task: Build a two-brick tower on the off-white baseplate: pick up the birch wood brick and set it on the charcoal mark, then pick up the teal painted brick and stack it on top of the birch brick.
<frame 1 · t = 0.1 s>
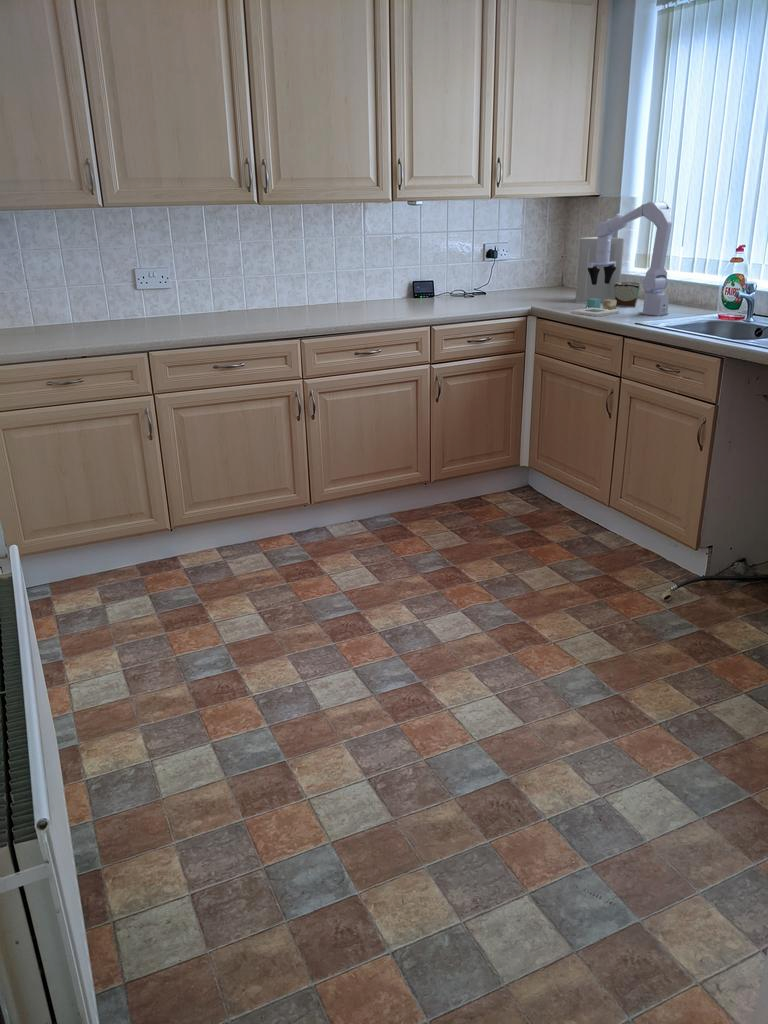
hand: (600, 284, 365), 10 cm above the table, tool pointing down, fingers open, 7 cm apart
teal brick: (593, 308, 366), on the table
tall grey pillar: (595, 301, 388), on the table
food container: (627, 306, 373), on the table
baseplate: (594, 313, 352), on the table
birch brick: (609, 309, 362), on the table
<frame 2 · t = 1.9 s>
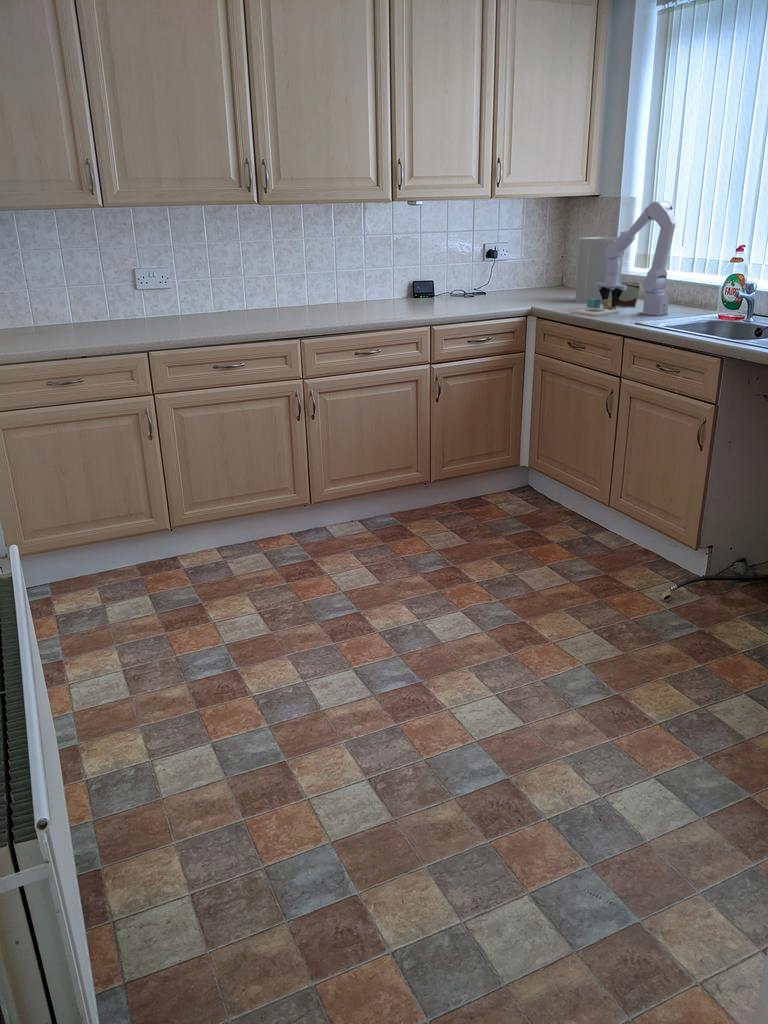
hand: (609, 306, 362), 1 cm above the table, tool pointing down, fingers closed on birch brick, 4 cm apart
birch brick: (609, 309, 362), on the table, touching gripper
everything else where it was.
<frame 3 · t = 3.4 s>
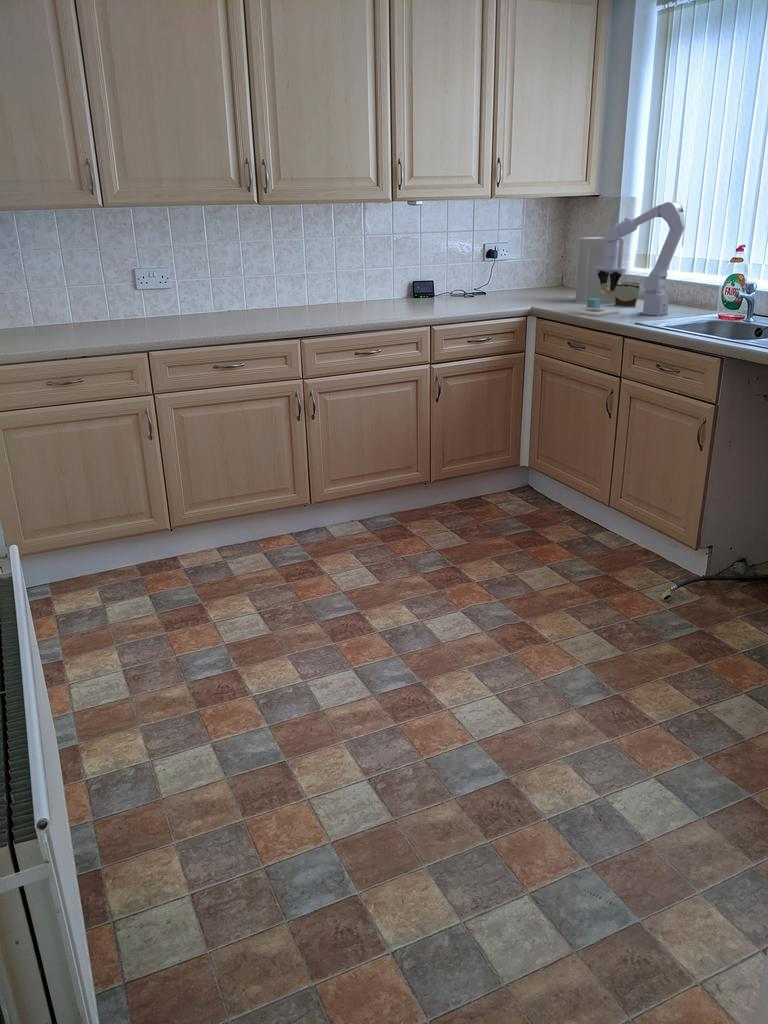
hand: (608, 290, 357), 8 cm above the table, tool pointing down, fingers closed on birch brick, 4 cm apart
birch brick: (607, 293, 358), point 7 cm above the table, touching gripper
everything else where it was.
when the fingers open (4 cm above the table, at t = 5.3 s): birch brick drops 1 cm, resting on baseplate.
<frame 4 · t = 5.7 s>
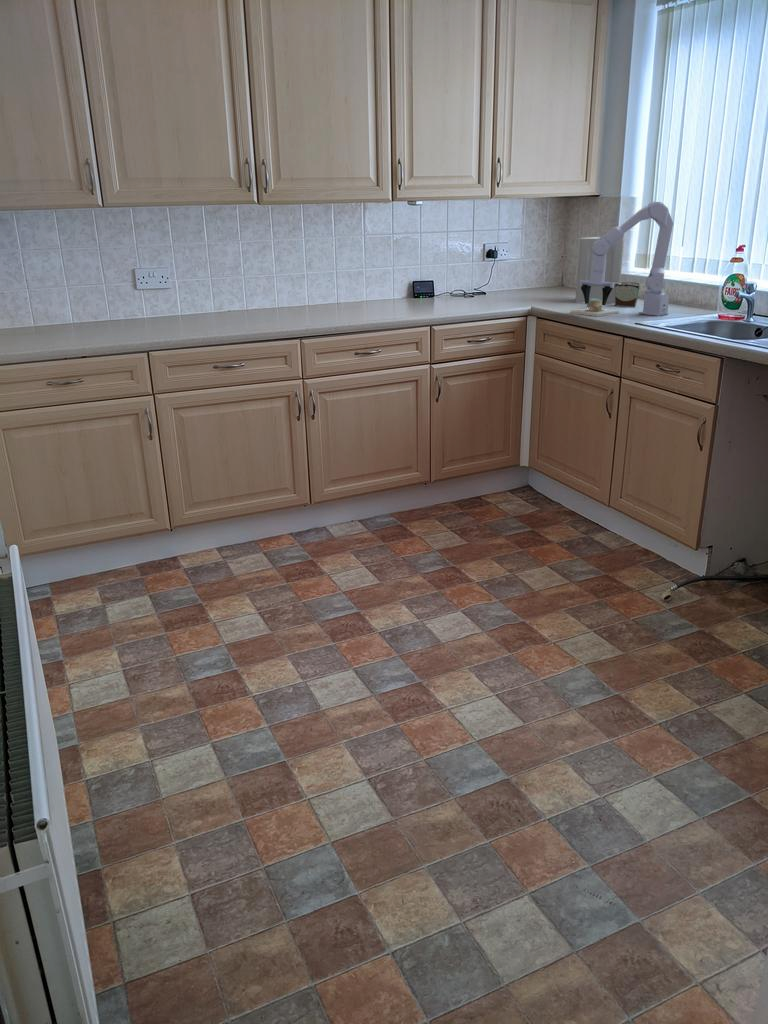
hand: (595, 304, 351), 4 cm above the table, tool pointing down, fingers open, 7 cm apart
birch brick: (595, 310, 352), point 1 cm above the table, touching baseplate
everything else where it was.
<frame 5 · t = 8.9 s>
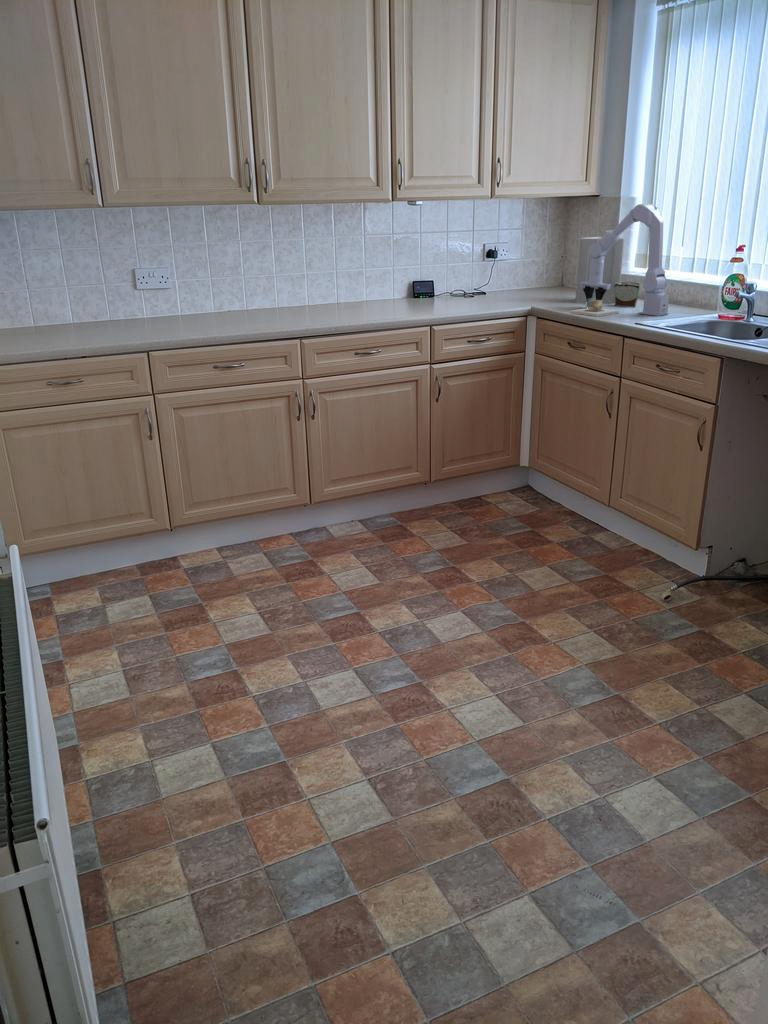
hand: (593, 304, 366), 1 cm above the table, tool pointing down, fingers closed on teal brick, 4 cm apart
teal brick: (593, 308, 366), on the table, touching gripper
everything else where it was.
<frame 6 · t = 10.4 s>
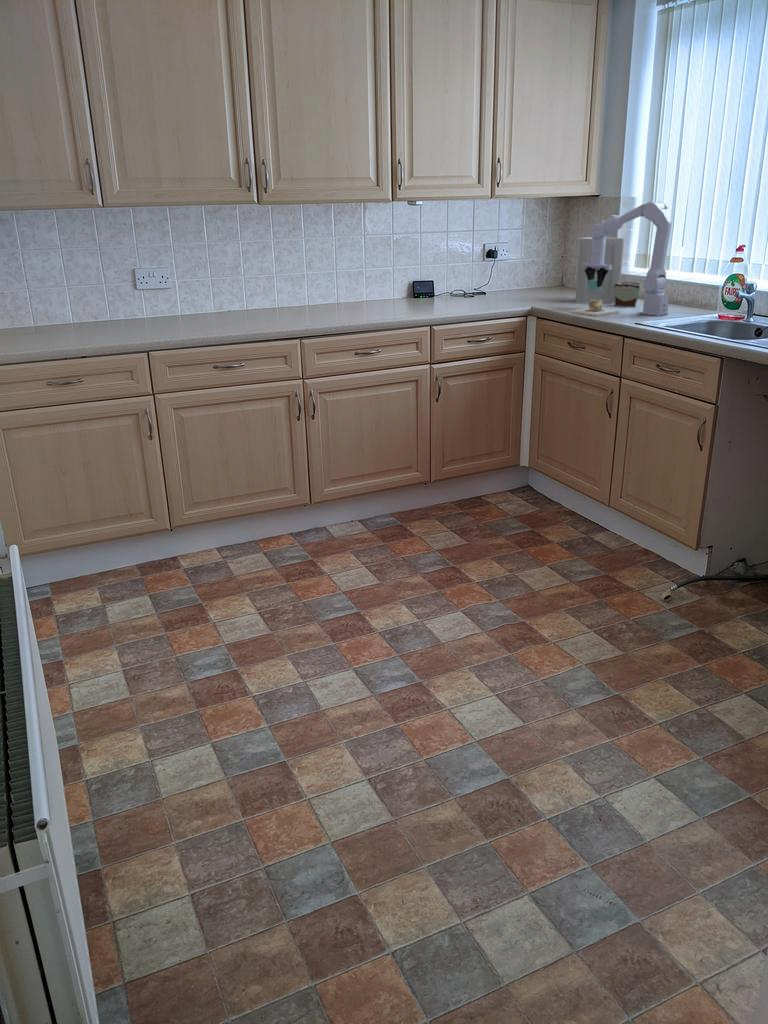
hand: (595, 286, 363), 9 cm above the table, tool pointing down, fingers closed on teal brick, 4 cm apart
teal brick: (594, 289, 363), point 8 cm above the table, touching gripper
everything else where it was.
when the fingers open (8 cm above the table, at t = 12.1 s): teal brick drops 1 cm, resting on birch brick.
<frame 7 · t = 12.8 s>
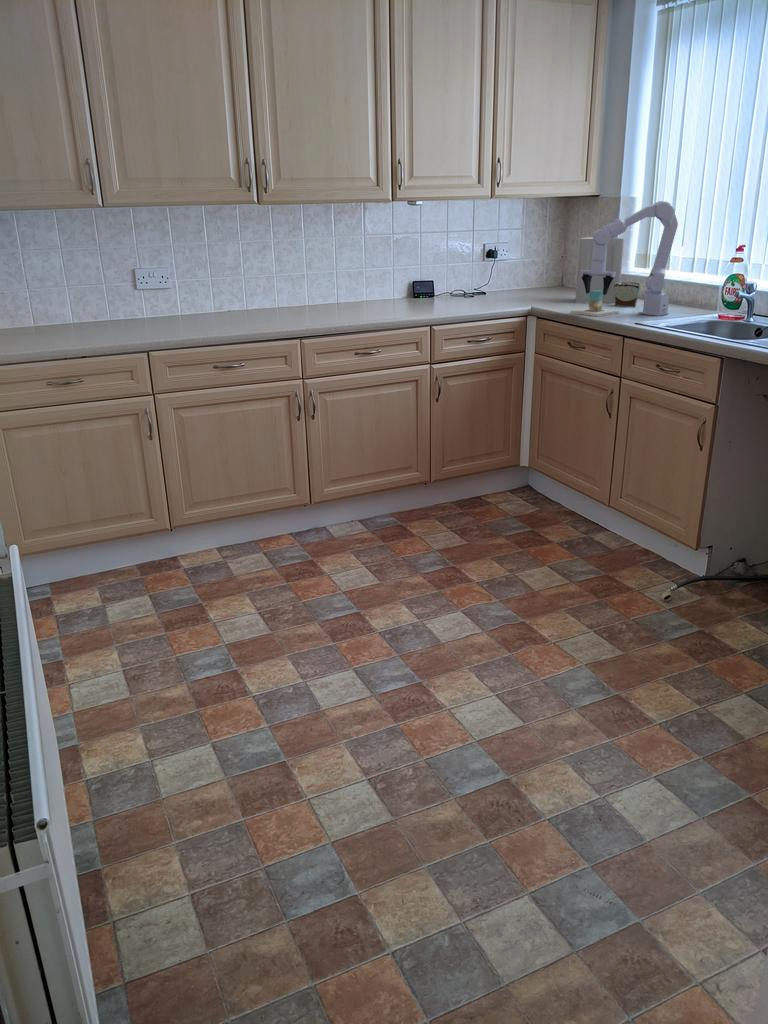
hand: (596, 293, 349), 8 cm above the table, tool pointing down, fingers open, 7 cm apart
teal brick: (595, 300, 350), point 5 cm above the table, touching birch brick
birch brick: (595, 310, 352), point 1 cm above the table, touching baseplate, teal brick
everything else where it was.
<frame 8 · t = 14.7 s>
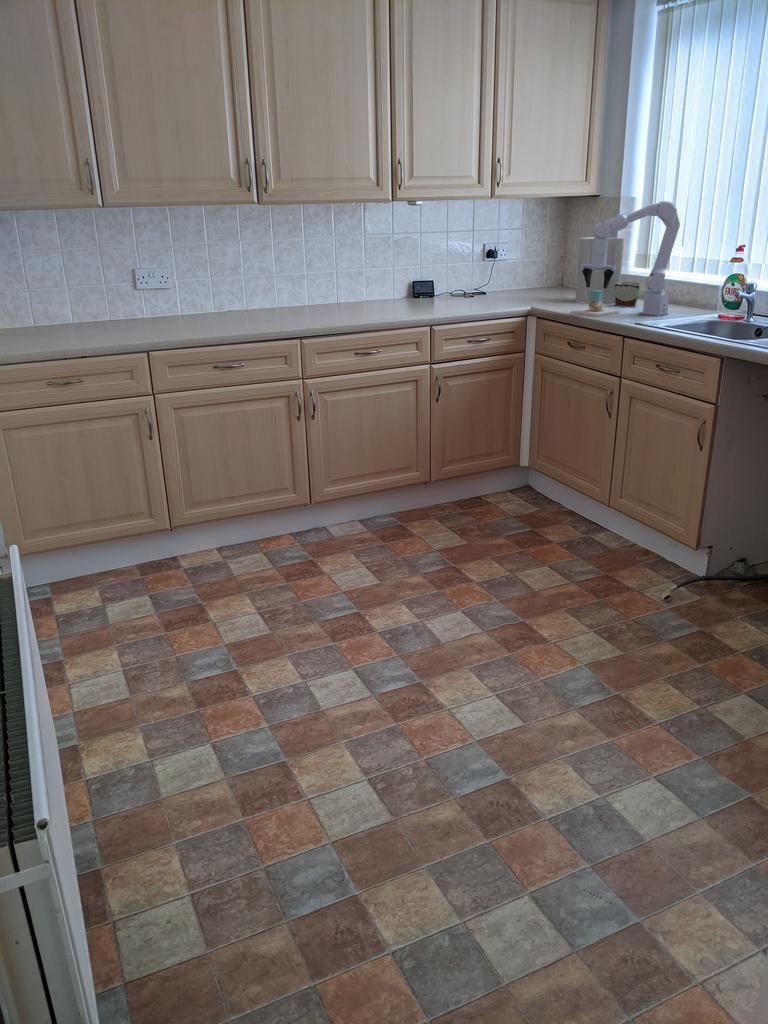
hand: (596, 287, 348), 10 cm above the table, tool pointing down, fingers open, 7 cm apart
nothing on the table moved.
at the end: birch brick 0.3 cm off-centre on the baseplate, point 1.2 cm above the baseplate's base; teal brick 0.1 cm off-centre on the baseplate, point 5.2 cm above the baseplate's base; the gripper is holding nothing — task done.
